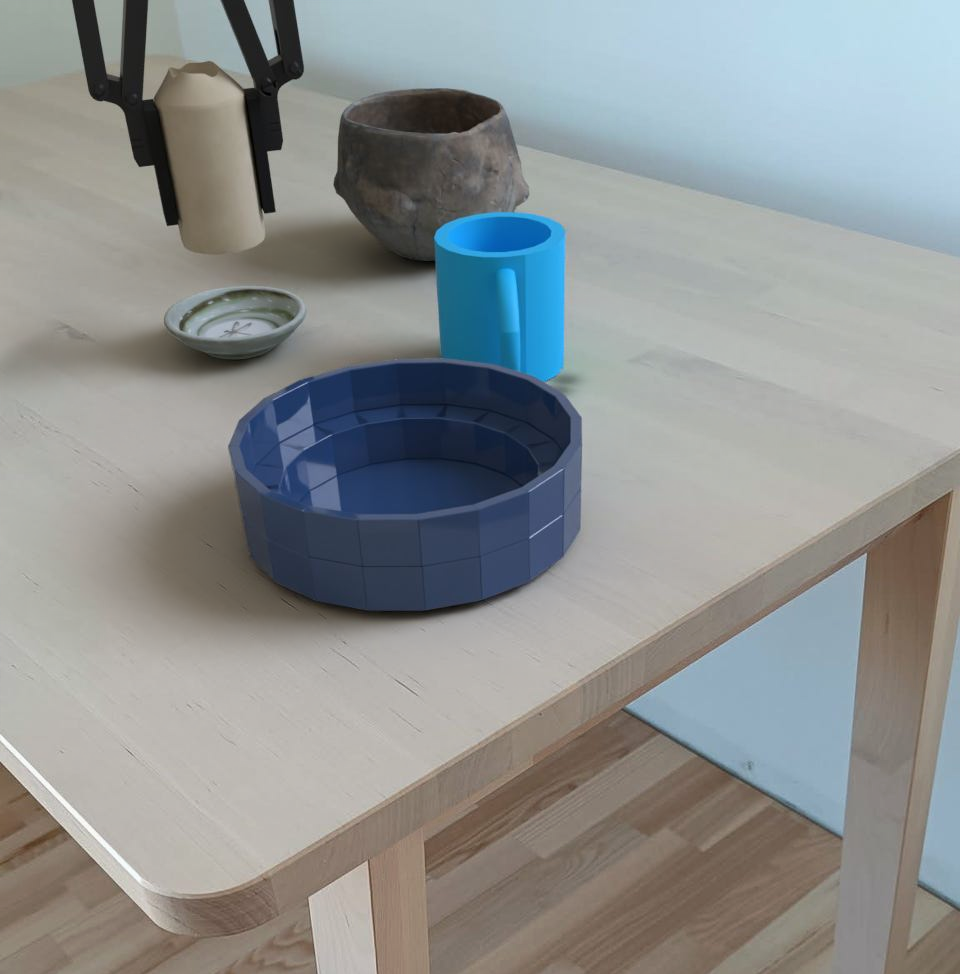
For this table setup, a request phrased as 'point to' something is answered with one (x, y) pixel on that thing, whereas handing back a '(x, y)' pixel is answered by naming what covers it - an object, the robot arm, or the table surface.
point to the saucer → (235, 320)
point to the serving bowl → (409, 482)
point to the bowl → (425, 164)
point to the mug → (502, 291)
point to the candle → (210, 159)
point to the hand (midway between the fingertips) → (219, 211)
